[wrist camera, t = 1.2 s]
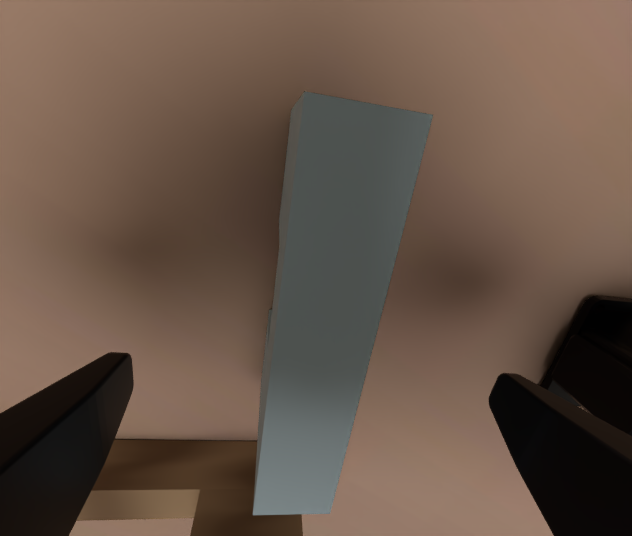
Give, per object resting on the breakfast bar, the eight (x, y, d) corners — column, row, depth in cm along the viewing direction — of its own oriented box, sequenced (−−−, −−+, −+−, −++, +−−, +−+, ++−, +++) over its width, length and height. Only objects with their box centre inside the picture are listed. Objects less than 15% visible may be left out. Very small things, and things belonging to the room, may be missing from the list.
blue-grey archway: (360, 121, 12) (433, 114, 6) (312, 383, 16) (330, 513, 11) (291, 109, 11) (304, 91, 6) (261, 381, 16) (252, 515, 10)
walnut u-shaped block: (296, 441, 18) (302, 537, 14) (292, 467, 18) (296, 565, 14) (-47, 437, 15) (-168, 552, 11) (-37, 467, 16) (-146, 586, 12)
